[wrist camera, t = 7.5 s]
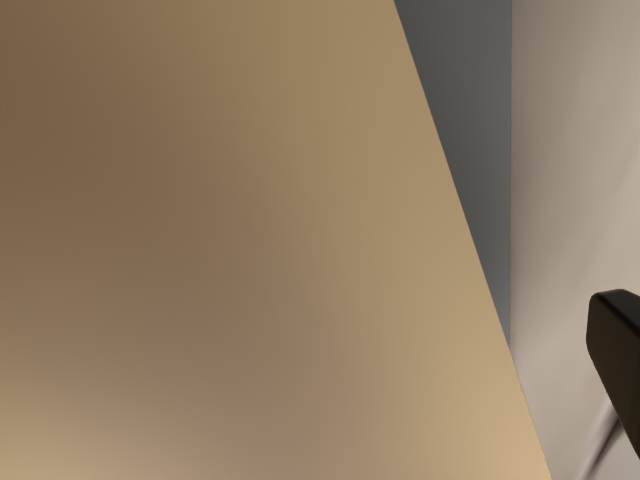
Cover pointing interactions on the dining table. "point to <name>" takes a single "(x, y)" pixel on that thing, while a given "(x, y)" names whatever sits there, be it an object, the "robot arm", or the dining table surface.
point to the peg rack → (471, 116)
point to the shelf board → (238, 253)
